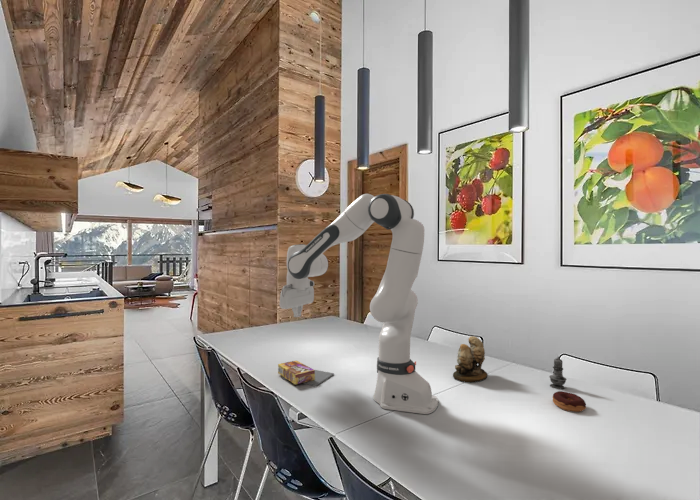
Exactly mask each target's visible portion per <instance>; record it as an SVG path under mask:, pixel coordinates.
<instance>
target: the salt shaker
mask: <svg viewBox="0 0 700 500" xmlns="http://www.w3.org/2000/svg"><path fill="white" fill-rule="evenodd" d="M552 368H553V373H552V375H549V377H548V378H549V380H550V382H551V384H549V387H550V388H553V389H555V390H559V391H561V390H562V391H563V390H566V386H564V385H565V383H566V381H567V378H566V377H564V375H563V370H564V367H563V360H562V359H561V358H560V356H558V355H557V358H554V359H553V366H552Z"/></svg>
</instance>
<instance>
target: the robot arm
mask: <svg viewBox="0 0 700 500" xmlns="http://www.w3.org/2000/svg"><path fill="white" fill-rule="evenodd" d="M414 211H415V210H414V208H413V205H412V204H411V202H409V201H407V200H406V199H403V198H401V197H399V196H397V195H393V194H389V193H381V194H378V195H375V196H374V195H372V194H370V193H364V194H361V195H360V196H358V197H357V198H356V199H355V200H353V201H352V203H350V204H349V205H348V206H347V207H346V208H345V209H344V210H343V211H342V213H341V214H339V215H338V216H337V217H336V218H335V220H334V221H332V222H331V223H330V224H329V225H327V226H326V227H325V228H324V229H322V230H321V231H320V232H319V233H318V234H317V235H315V237H313V238H312V240H310V241H309V243H308V244H303V243H302V244H301V243H300V244H293V245H290V246H288V248H287V253H286V269H287V271H286V272H287V273H286V284H284V285H283V287H282V288H281V291H280V296H279V307H280V309H282V310H288V309H291V311H292V313H293V318H300V317H301V316H302V312H303V307H304V306H305V305H308V304H312V303H314V300H315V288H314V287H315V280H311V279H310V278H311V277H312V278H314V277H319V276H323V275H324V274H326V273H327V271H328V268H329V260H328V258H327V256H326V255H325V254H324V253H325V252H326V251H327V250H329V249H330V248H331V247H334V246H336V245H340V244H343V243H350V242H353V241H355V240H356V239H359V237H360V236H362V235H363V234H364V233H365V232H366V231H367V230H368V229H369V228H370V227H371V226H372V224H374V223H375V224H377V225H379V226H380V227H382V228H384V229H386V230H390V231H391V232H392V233H391V234H392V240H391V244H390V248H389V253H388V259H387V263H386V268H385V271H384V273H383V276H382V277H381V281H380V283H379V286H378V288H377V291H376V293H375V295H373V297H372V299H371V301H370V303H369V311H370V314H371V316H372V318H373V319H374V320H376V321H378V322H380V323H383V324H382V327H381V330H380V332H379V335H378V357H377V358H376V360H377V361H376V373H377V378H376V385H375V389H374V393H373V396H372V398H373V400H374V401H375V402H376V403H377V404H379V405H380V408H382V409H384V410H389V411H390V410H391V411H399V412H406V413H414V414H420V415H429V414H431V413H433V412H434V411H436V410H437V408H438V406H439V398H438V397H437V396H435V395H433V393H432V387H431V385H430V382H428V380H426V379H425V378H424V377H423V376H422V375H420V374H419V373H418V372H417V371H416V365H417V361H413V360H412V359H411V337H412V331H413V324H414V319H415V313H416V309H417V306H418V304H419V302H418V296H417V293H415V291H414V290H412V287H413V284H414V282H415V281H416V279H417V277H418V274H419V269H420V265H421V262H422V261H421V260H422V255H423V251H424V243H425V227H424V224H422V222H421V221H419V220H417V219H415V218H414V216H415V212H414Z"/></svg>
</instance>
